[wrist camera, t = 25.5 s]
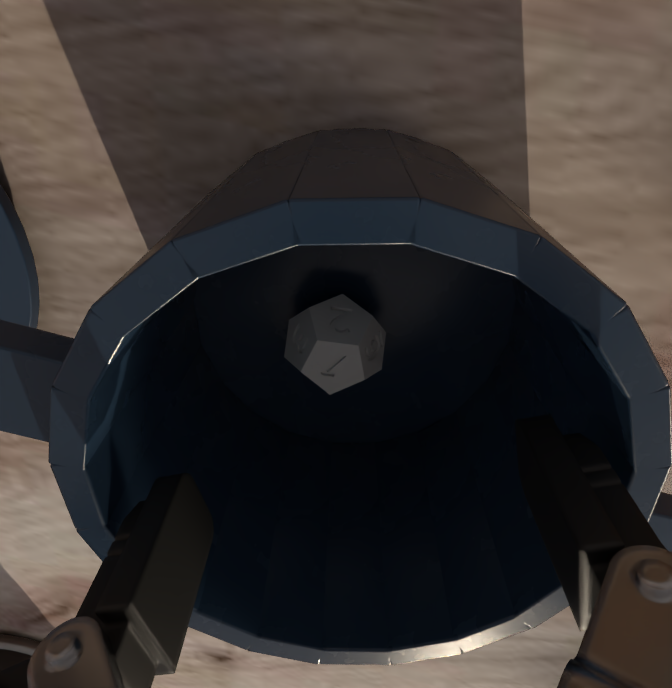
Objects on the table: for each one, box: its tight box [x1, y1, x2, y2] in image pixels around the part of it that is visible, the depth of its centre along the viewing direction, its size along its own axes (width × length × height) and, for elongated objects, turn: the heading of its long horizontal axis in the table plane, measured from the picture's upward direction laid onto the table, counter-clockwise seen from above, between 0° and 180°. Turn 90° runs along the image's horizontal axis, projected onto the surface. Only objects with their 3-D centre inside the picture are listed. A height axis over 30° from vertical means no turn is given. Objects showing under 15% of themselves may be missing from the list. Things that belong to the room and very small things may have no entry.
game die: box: [284, 294, 386, 395], centre depth 18 cm, size 4×4×3 cm
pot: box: [0, 128, 672, 665], centre depth 16 cm, size 14×19×10 cm
